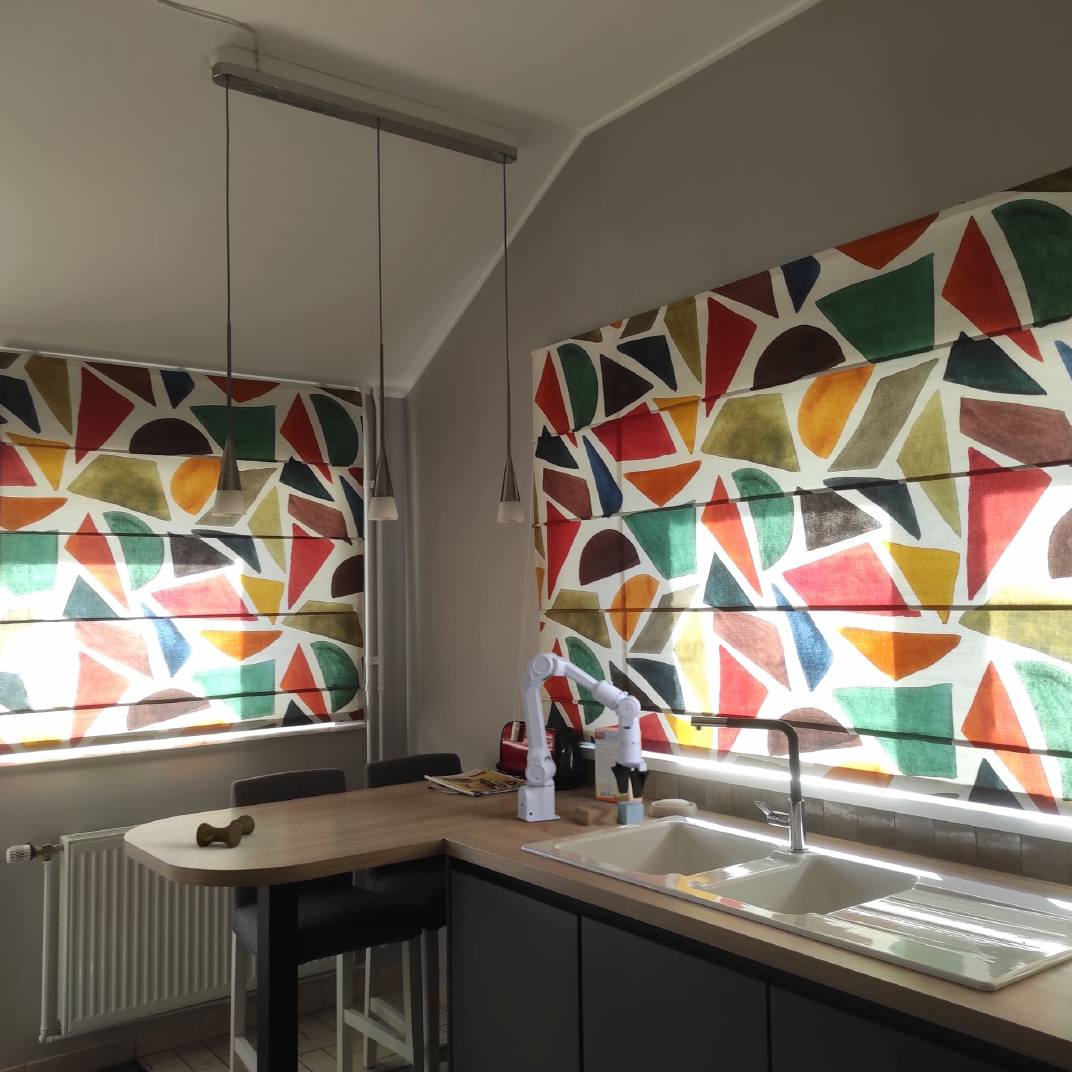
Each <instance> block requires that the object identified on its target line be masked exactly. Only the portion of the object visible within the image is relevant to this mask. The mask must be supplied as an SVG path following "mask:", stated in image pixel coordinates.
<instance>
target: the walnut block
mask: <svg viewBox="0 0 1072 1072" xmlns="http://www.w3.org/2000/svg"><path fill="white" fill-rule="evenodd" d="M575 808H576V811H575V812H576V821H577V822H579V823H581V824H583V825H585V826H587V827H596V826H606V825H609V826H610V825H617V824H618V809H617V808H614V807H613V806H610V805H607V804H605V803H598V804H597V803H596V804H585V805H576V807H575Z"/></svg>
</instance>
